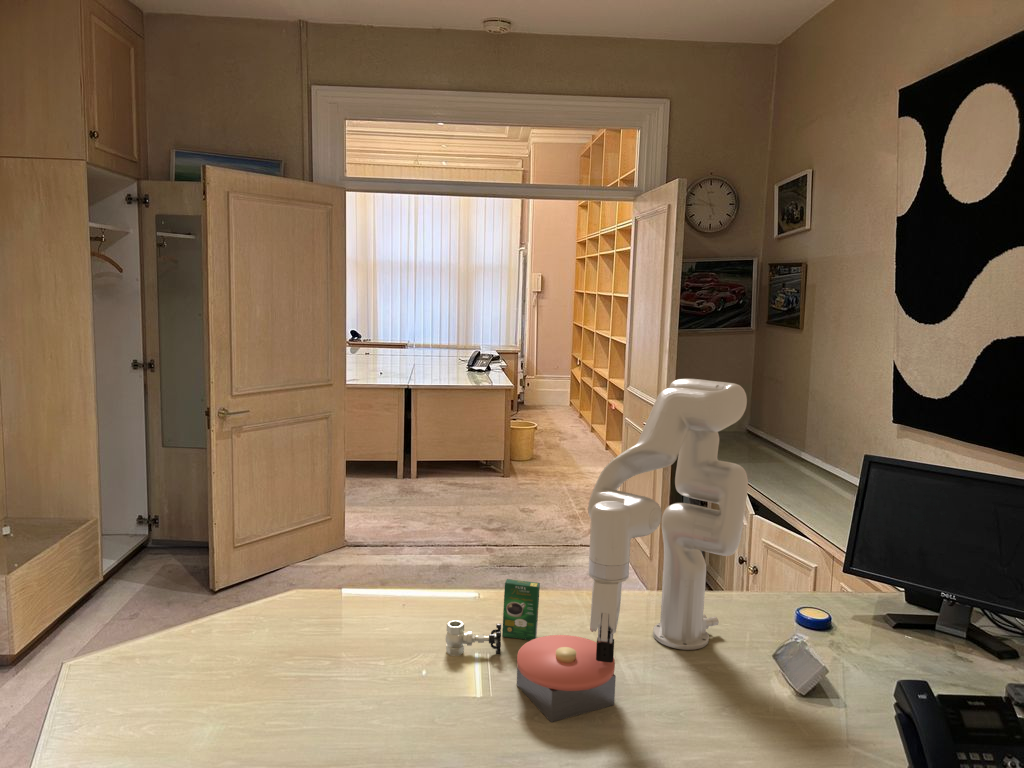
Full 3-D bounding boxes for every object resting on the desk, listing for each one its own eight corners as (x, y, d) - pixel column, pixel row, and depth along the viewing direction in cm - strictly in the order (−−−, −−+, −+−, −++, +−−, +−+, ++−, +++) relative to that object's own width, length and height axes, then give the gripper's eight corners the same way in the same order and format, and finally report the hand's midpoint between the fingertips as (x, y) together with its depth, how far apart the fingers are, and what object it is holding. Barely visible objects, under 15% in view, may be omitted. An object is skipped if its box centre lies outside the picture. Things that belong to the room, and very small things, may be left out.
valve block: (576, 670, 154) (577, 643, 153) (614, 704, 141) (615, 675, 141) (516, 684, 148) (517, 656, 147) (550, 722, 135) (552, 691, 134)
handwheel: (523, 692, 133) (524, 666, 133) (511, 642, 152) (512, 619, 151) (625, 689, 135) (627, 663, 135) (601, 640, 154) (602, 617, 154)
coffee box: (538, 635, 169) (540, 581, 167) (536, 641, 166) (538, 586, 164) (504, 632, 170) (505, 577, 168) (501, 637, 167) (503, 582, 166)
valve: (444, 659, 157) (500, 660, 157) (444, 630, 156) (501, 631, 156) (446, 645, 163) (500, 645, 164) (446, 616, 163) (501, 617, 163)
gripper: (592, 552, 146) (588, 639, 148) (584, 581, 131) (580, 677, 134) (630, 555, 144) (626, 643, 147) (627, 585, 130) (622, 682, 132)
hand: (604, 659), depth 140 cm, fingers closed
